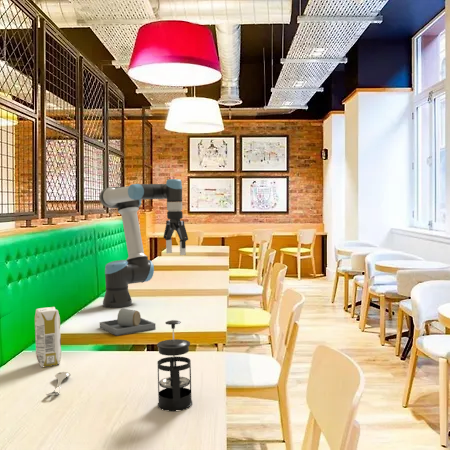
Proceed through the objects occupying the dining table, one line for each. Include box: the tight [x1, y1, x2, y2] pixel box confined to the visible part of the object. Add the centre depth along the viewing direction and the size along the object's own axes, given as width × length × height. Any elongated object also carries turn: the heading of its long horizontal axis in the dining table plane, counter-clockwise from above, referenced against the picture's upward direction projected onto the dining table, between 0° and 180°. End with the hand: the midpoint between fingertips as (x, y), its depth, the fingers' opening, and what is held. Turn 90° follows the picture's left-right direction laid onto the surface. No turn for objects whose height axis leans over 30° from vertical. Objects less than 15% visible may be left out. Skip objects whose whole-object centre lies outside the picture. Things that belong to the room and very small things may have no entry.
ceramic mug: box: [116, 308, 142, 327], centre depth 240 cm, size 11×8×8 cm
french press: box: [156, 319, 193, 412], centre depth 148 cm, size 12×9×23 cm
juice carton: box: [34, 306, 62, 368], centre depth 188 cm, size 8×9×19 cm
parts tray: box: [99, 317, 157, 337], centre depth 237 cm, size 18×18×2 cm
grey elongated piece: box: [45, 371, 71, 396], centre depth 164 cm, size 20×4×5 cm
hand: (175, 254), depth 268 cm, fingers open, 13 cm apart
